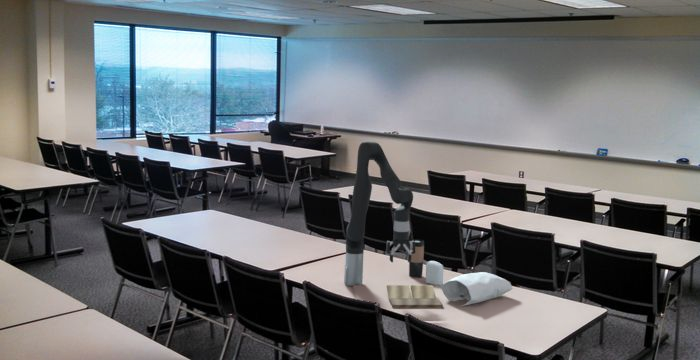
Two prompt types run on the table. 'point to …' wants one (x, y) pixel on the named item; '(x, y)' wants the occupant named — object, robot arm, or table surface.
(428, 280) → the photo printer
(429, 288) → the oak plank right
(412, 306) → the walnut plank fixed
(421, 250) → the travel mug
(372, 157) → the robot arm
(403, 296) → the oak plank left
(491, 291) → the bag
